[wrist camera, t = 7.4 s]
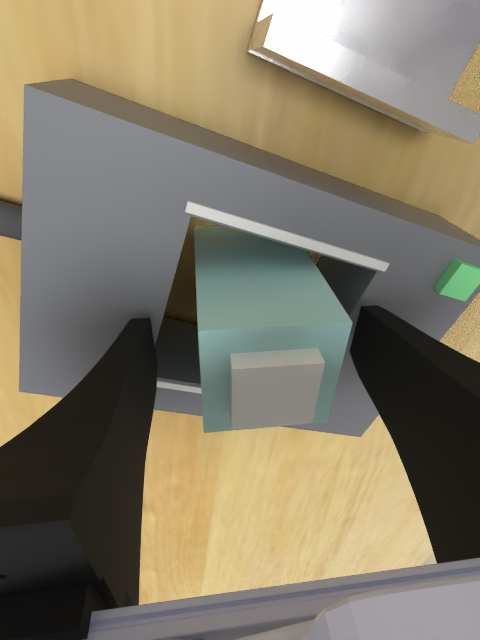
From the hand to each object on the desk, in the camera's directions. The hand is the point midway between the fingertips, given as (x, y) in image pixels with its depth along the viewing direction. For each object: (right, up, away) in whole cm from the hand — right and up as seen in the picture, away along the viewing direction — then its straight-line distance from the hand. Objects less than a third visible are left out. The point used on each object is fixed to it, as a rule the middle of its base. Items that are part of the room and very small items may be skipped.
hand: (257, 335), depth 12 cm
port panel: (-1, +3, +4) cm, 4 cm away
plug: (-1, +3, +4) cm, 5 cm away
